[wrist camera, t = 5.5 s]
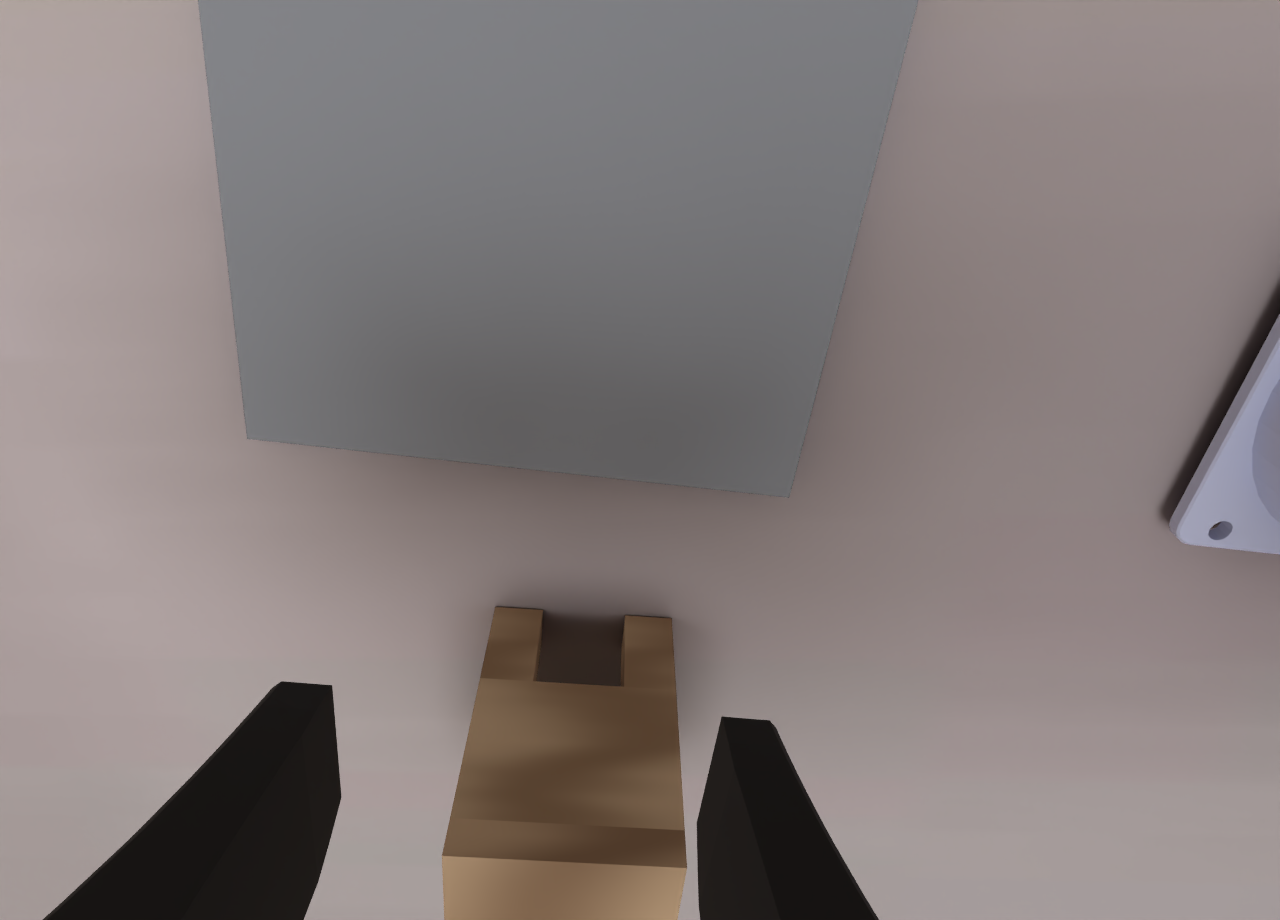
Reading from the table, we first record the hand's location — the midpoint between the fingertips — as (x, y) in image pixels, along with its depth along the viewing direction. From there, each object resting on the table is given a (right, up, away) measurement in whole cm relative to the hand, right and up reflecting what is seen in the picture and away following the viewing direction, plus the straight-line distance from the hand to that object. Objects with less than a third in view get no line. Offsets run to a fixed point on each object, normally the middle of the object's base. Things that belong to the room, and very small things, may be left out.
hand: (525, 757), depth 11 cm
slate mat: (0, +9, +6) cm, 11 cm away
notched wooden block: (0, -2, +12) cm, 12 cm away
